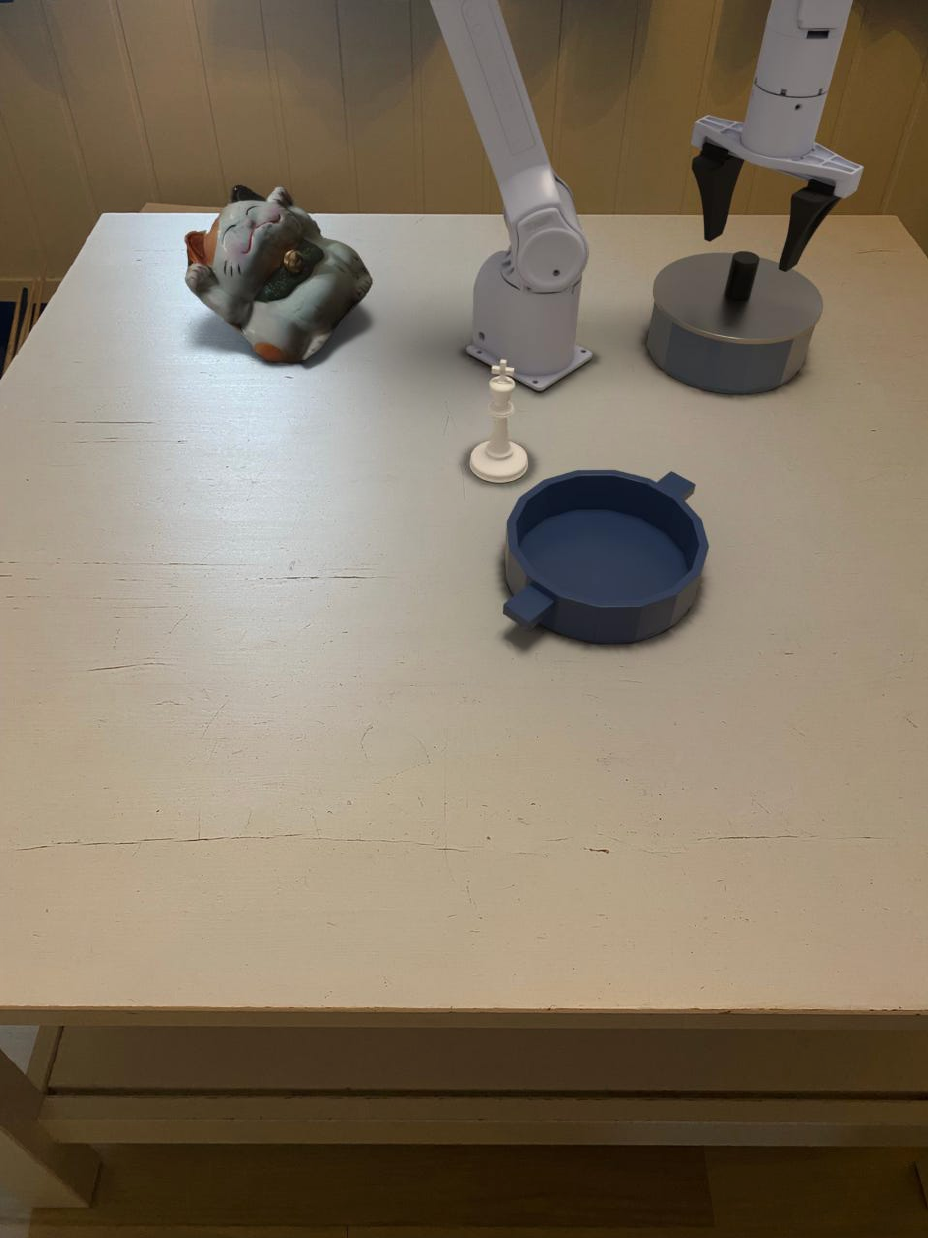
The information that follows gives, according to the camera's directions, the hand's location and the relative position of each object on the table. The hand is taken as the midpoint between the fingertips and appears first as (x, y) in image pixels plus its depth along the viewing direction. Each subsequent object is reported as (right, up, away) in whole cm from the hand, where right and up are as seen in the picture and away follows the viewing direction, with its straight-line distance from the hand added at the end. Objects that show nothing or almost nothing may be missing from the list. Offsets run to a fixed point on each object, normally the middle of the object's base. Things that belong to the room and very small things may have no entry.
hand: (749, 251), depth 83 cm
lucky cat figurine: (-43, -4, +10) cm, 44 cm away
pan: (-15, -29, -12) cm, 34 cm away
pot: (0, -6, +8) cm, 10 cm away
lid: (0, -3, +4) cm, 5 cm away
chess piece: (-22, -19, -3) cm, 30 cm away
